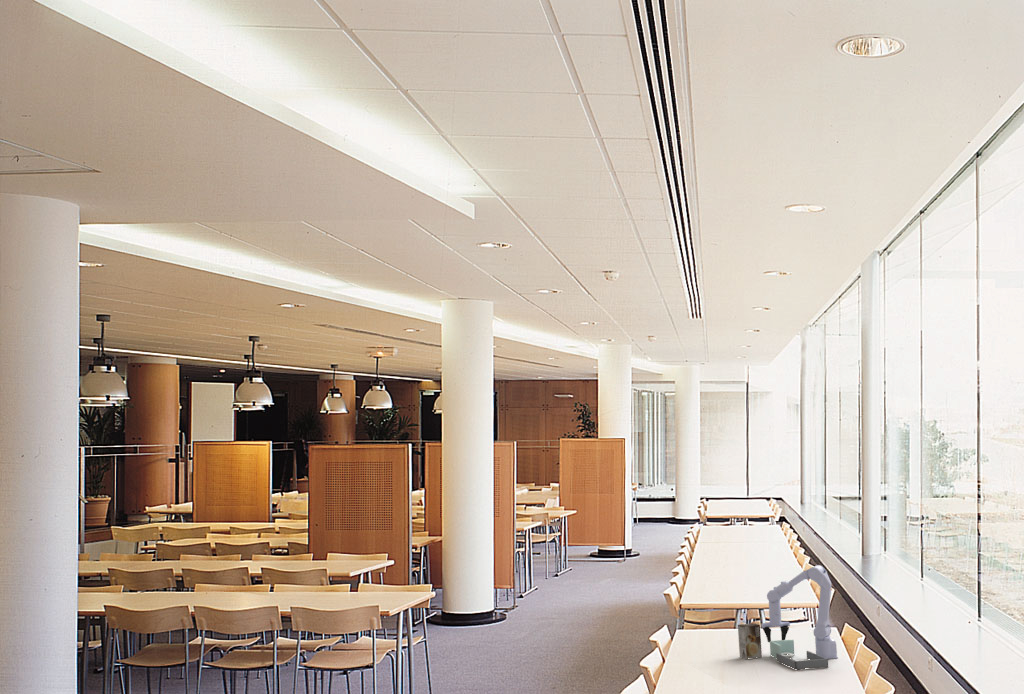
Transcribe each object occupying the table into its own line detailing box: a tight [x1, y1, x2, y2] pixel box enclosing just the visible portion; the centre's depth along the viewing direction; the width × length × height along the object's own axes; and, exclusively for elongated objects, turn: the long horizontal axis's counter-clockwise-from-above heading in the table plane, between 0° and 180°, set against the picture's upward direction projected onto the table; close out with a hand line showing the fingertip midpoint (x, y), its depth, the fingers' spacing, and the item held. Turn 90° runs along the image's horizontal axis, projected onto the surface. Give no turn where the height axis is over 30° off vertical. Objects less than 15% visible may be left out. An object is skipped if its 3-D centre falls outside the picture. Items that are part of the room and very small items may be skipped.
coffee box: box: [737, 622, 763, 660], centre depth 522 cm, size 9×6×16 cm
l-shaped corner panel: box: [769, 639, 795, 659], centre depth 519 cm, size 12×12×8 cm
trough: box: [776, 650, 829, 670], centre depth 502 cm, size 17×20×4 cm
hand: (776, 641), depth 529 cm, fingers open, 7 cm apart
